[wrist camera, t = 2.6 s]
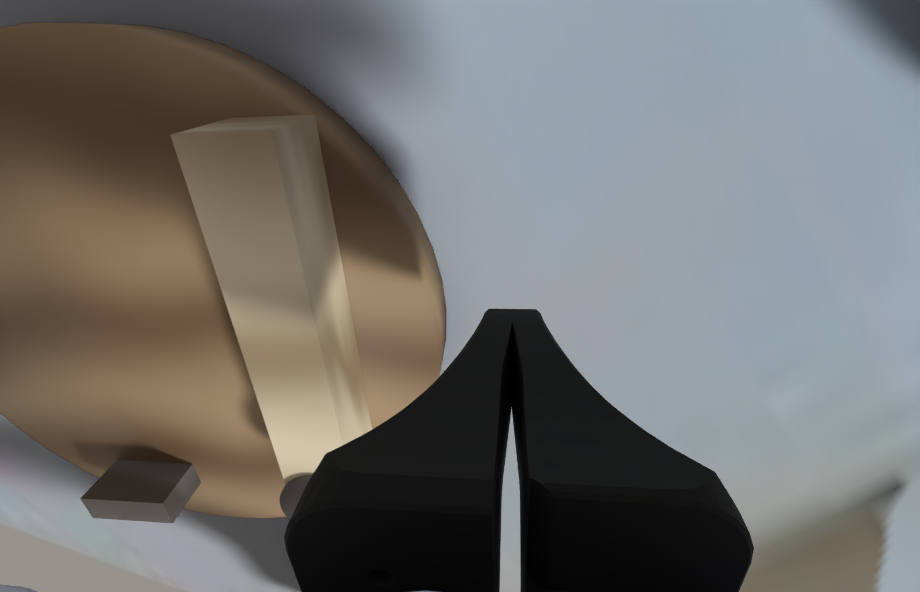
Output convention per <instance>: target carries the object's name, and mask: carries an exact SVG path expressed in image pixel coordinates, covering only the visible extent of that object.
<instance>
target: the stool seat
mask: <svg viewBox="0 0 920 592" xmlns="http://www.w3.org/2000/svg"><path fill="white" fill-rule="evenodd" d="M293 115H315V118H316V124H317V129H318V135H319V140H320V146H321V151H322V156H323V162H324V167H325V173H326V178H327V184H328V189H329V195H330V200H331V206H332V211H333V217H334V222H335V228H336V233H337V238H338V244H339V249H340V255H341V260H342V266H343V271H344V277H345V282H346V288H347V293H348V299H349V304H350V310H351V315H352V321H353V326H354V331H355V337H356V342H357V348H358V353H359V359H360V364H361V370H362V375H363V381H364V386H365V392H366V397H367V403H368V408H369V413H370V419H371V424H372V429H374V428H375V427H377V426H379V425H380V424H382V423H384V422H385V421H387V420H388V419H390V418H391V417H393V416H394V415H396V414H397V413H398V412H400V411H401V410H403V409H404V408H405V407H406V406H408V405H409V404H410V403H411V402H413V401H414V400H415V399H416V398H417V397H418V396H420V395H421V394H422V393H423V392H424V391H425V390H426V389H428V388H429V387H430V386H431V385H432V384H433V383H434V382H435V381H436V380H437V379H438V378H439V374H440V370H441V365H442V360H443V353H444V347H445V341H446V304H445V297H444V290H443V283H442V278H441V274H440V271H439V267H438V264H437V261H436V257H435V254H434V250H433V247H432V245H431V243H430V240H429V238H428V236H427V233H426V231H425V229H424V227H423V224H422V222H421V220H420V218H419V215H418V213H417V212H416V210H415V208H414V207H413V205H412V203H411V202H410V200H409V198H408V197H407V195H406V193H405V192H404V190H403V188H402V187H401V185H400V183H399V182H398V180H397V179H396V178H395V177H394V175H393V174H392V173H391V171H390V170H389V169H388V168H387V166H386V165H385V164H384V162H383V161H382V160H381V159H380V157H379V156H378V155H377V153H376V152H375V151H374V150H373V148H372V147H371V146H370V145H369V144H368V143H367V142H366V141H365V140H364V139H363V138H362V137H361V136H360V135H359V134H358V133H357V132H356V131H355V130H354V129H353V128H352V127H351V126H350V125H349V124H348V123H347V122H346V121H345V120H344V119H343V118H342V117H341V116H340V115H338V114H337V113H336V112H335V111H333V110H332V109H331V108H330V107H328V106H327V105H326V104H325V103H323V102H322V101H321V100H320V99H318V98H317V97H316V96H315V95H313V94H312V93H311V92H310V91H309V90H307V89H306V88H304V87H302V86H301V85H299V84H298V83H296V82H294V81H293V80H291V79H290V78H288V77H286V76H285V75H283V74H282V73H280V72H279V71H277V70H275V69H274V68H272V67H271V66H269V65H267V64H265V63H263V62H260V61H258V60H256V59H254V58H252V57H250V56H248V55H246V54H243V53H241V52H239V51H237V50H235V49H233V48H231V47H229V46H226V45H223V44H219V43H216V42H213V41H210V40H207V39H204V38H201V37H198V36H195V35H192V34H188V33H185V32H179V31H173V30H168V29H162V28H156V27H151V26H145V25H119V24H89V23H48V22H32V23H25V24H19V25H12V26H6V27H0V413H1V414H2V415H3V416H4V417H6V418H7V419H8V420H9V421H10V422H12V423H13V424H14V425H15V426H17V427H18V428H19V429H20V430H22V431H23V432H24V433H26V434H27V435H28V436H30V437H31V438H33V439H34V440H36V441H37V442H38V443H40V444H41V445H43V446H44V447H46V448H47V449H48V450H50V451H52V452H53V453H55V454H57V455H58V456H60V457H62V458H63V459H65V460H67V461H68V462H70V463H72V464H73V465H75V466H77V467H78V468H80V469H82V470H84V471H86V472H88V473H90V474H92V475H94V476H96V477H98V478H99V479H98V480H97V481H96V483H95V484H94V485H93V486H92V487H91V488H90V489H89V490H88V491H87V492H86V493H85V494H84V495H83V496H82V497H81V498H80V499H81V500H82V502H83V503H84V505H85V506H86V508H87V509H88V511H89V513H90V514H91V516H92V517H93V518H103V519H118V520H133V521H148V522H163V523H173V522H174V521H175V519H176V518H177V516H178V515H179V514H180V512H181V511H182V509H186V510H191V511H196V512H202V513H207V514H212V515H220V516H230V517H239V518H276V517H286V515H285V514H284V512H283V511H282V509H281V506H280V495H281V492H282V490H283V488H284V486H285V482H284V479H283V476H282V473H281V470H280V467H279V464H278V461H277V458H276V455H275V452H274V449H273V446H272V443H271V440H270V436H269V433H268V430H267V427H266V424H265V421H264V418H263V415H262V412H261V409H260V406H259V403H258V400H257V397H256V394H255V391H254V388H253V385H252V382H251V379H250V376H249V373H248V370H247V367H246V363H245V360H244V357H243V354H242V351H241V348H240V345H239V342H238V339H237V336H236V333H235V330H234V327H233V324H232V321H231V318H230V315H229V312H228V309H227V306H226V303H225V300H224V297H223V294H222V290H221V287H220V284H219V281H218V278H217V275H216V272H215V269H214V266H213V263H212V260H211V257H210V254H209V251H208V248H207V245H206V242H205V239H204V236H203V233H202V230H201V227H200V224H199V221H198V217H197V214H196V211H195V208H194V205H193V202H192V199H191V196H190V193H189V190H188V187H187V184H186V181H185V178H184V175H183V172H182V169H181V166H180V163H179V160H178V157H177V154H176V151H175V148H174V144H173V141H172V138H171V134H175V133H178V132H182V131H186V130H189V129H193V128H196V127H200V126H203V125H207V124H210V123H214V122H217V121H221V120H225V119H228V118H237V117H265V116H293Z"/></svg>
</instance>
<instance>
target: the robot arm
mask: <svg viewBox="0 0 920 592" xmlns="http://www.w3.org/2000/svg"><path fill="white" fill-rule="evenodd" d="M511 407H512V414H513V424H514V433H515V443H516V453H517V462H518V472H519V484H520V536H521V592H739V590H740V587H741V585H742V583H743V580H744V578H745V576H746V573H747V571H748V569H749V566H750V564H751V560H752V555H753V550H754V547H753V544H752V540H751V537H750V533H749V531H748V529H747V527H746V525H745V523H744V521H743V518H742V516H741V514H740V512H739V510H738V509H737V507H736V505H735V503H734V502H733V500H732V498H731V497H730V495H729V493H728V492H727V490H726V489H725V487H724V486H723V484H722V482H721V481H720V479H719V478H718V476H717V474H716V473H715V472H714V471H712V470H710V469H709V468H707V467H705V466H703V465H701V464H700V463H698V462H696V461H694V460H692V459H691V458H689V457H687V456H685V455H683V454H682V453H680V452H678V451H676V450H674V449H673V448H671V447H669V446H668V445H666V444H665V443H663V442H661V441H660V440H658V439H657V438H655V437H654V436H652V435H651V434H649V433H648V432H646V431H645V430H643V429H642V428H641V427H639V426H638V425H636V424H635V423H634V422H632V421H631V420H630V419H629V418H627V417H626V416H625V415H623V414H622V413H621V412H620V411H618V410H617V409H616V408H615V407H613V406H612V405H611V404H610V403H609V402H608V401H607V400H605V399H604V398H603V397H602V396H601V395H600V394H599V393H598V392H597V391H596V390H595V389H594V388H593V387H592V386H591V385H590V384H589V383H588V382H587V380H586V379H585V378H584V377H583V376H582V375H581V374H580V373H579V371H578V370H577V369H576V368H575V367H574V365H573V364H572V363H571V362H570V360H569V359H568V358H567V356H566V355H565V354H564V352H563V351H562V349H561V348H560V347H559V345H558V344H557V342H556V341H555V339H554V338H553V336H552V335H551V333H550V331H549V330H548V328H547V326H546V324H545V322H544V320H543V318H542V316H541V314H540V313H539V312H538V311H537V310H536V309H488V310H487V311H486V312H485V314H484V316H483V318H482V320H481V322H480V324H479V326H478V327H477V329H476V330H475V332H474V334H473V335H472V337H471V338H470V340H469V341H468V342H467V344H466V345H465V347H464V348H463V350H462V351H461V352H460V353H459V355H458V356H457V357H456V358H455V359H454V361H453V362H452V363H451V364H450V366H449V367H448V368H447V369H446V370H445V371H444V372H443V374H442V375H441V376H440V377H439V378H438V379H437V380H436V381H435V382H434V383H433V384H432V385H431V386H430V387H429V388H428V389H426V390H425V391H424V392H423V393H422V394H421V395H420V396H418V397H417V398H416V399H415V400H414V401H413V402H411V403H410V404H409V405H408V406H406V407H405V408H404V409H403V410H401V411H400V412H398V413H397V414H396V415H394V416H393V417H391V418H390V419H388V420H387V421H385V422H384V423H382V424H380V425H379V426H377V427H375V428H374V429H372V430H370V431H369V432H367V433H365V434H363V435H362V436H360V437H358V438H356V439H354V440H352V441H350V442H348V443H346V444H344V445H342V446H340V447H338V448H336V449H334V450H332V451H330V452H328V453H326V454H325V455H324V457H323V459H322V460H321V462H320V464H319V465H318V467H317V469H316V470H315V472H314V473H313V475H312V476H311V478H310V480H309V482H308V483H307V485H306V487H305V489H304V491H303V493H302V495H301V497H300V500H299V502H298V504H297V506H296V508H295V510H294V513H293V515H292V517H291V519H290V521H289V523H288V526H287V530H286V533H285V537H284V539H285V545H286V551H287V553H288V556H289V559H290V562H291V564H292V567H293V570H294V572H295V575H296V578H297V580H298V583H299V586H300V589H301V591H302V592H499V586H500V541H501V499H502V483H503V473H504V465H505V457H506V448H507V440H508V432H509V423H510V415H511ZM0 592H36V591H34V590H32V589H29V588H25V587H20V586H9V585H0Z"/></svg>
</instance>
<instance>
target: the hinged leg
mask: <svg viewBox="0 0 920 592" xmlns="http://www.w3.org/2000/svg"><path fill="white" fill-rule="evenodd" d="M171 138H172V141H173V144H174V148H175V151H176V154H177V157H178V160H179V163H180V166H181V169H182V172H183V175H184V178H185V181H186V184H187V187H188V190H189V193H190V196H191V199H192V202H193V205H194V208H195V211H196V214H197V217H198V221H199V224H200V227H201V230H202V233H203V236H204V239H205V242H206V245H207V248H208V251H209V254H210V257H211V260H212V263H213V266H214V269H215V272H216V275H217V278H218V281H219V284H220V287H221V290H222V294H223V297H224V300H225V303H226V306H227V309H228V312H229V315H230V318H231V321H232V324H233V327H234V330H235V333H236V336H237V339H238V342H239V345H240V348H241V351H242V354H243V357H244V360H245V363H246V367H247V370H248V373H249V376H250V379H251V382H252V385H253V388H254V391H255V394H256V397H257V400H258V403H259V406H260V409H261V412H262V415H263V418H264V421H265V424H266V427H267V430H268V433H269V436H270V440H271V443H272V446H273V449H274V452H275V455H276V458H277V461H278V464H279V467H280V470H281V473H282V476H283V479H284V482H285V486H284V488H283V490H282V492H281V495H280V506H281V509H282V511H283V512H284V514H285V515H286V517H287V518H288V519H289V520H290V519H291V517H292V515H293V513H294V510H295V508H296V506H297V504H298V502H299V500H300V497H301V495H302V493H303V491H304V489H305V487H306V485H307V483H308V482H309V480H310V478H311V476H312V475H313V473H314V472H315V470H316V469H317V467H318V465H319V464H320V462H321V460H322V459H323V457H324V455H325V454H326V453H328V452H330V451H332V450H334V449H336V448H338V447H340V446H342V445H344V444H346V443H348V442H350V441H352V440H354V439H356V438H358V437H360V436H362V435H363V434H365V433H367V432H369V431H370V430H372V424H371V419H370V413H369V408H368V403H367V397H366V392H365V386H364V381H363V375H362V370H361V364H360V359H359V353H358V348H357V342H356V337H355V331H354V326H353V321H352V315H351V310H350V304H349V299H348V293H347V288H346V282H345V277H344V271H343V266H342V260H341V255H340V249H339V244H338V238H337V233H336V228H335V222H334V217H333V211H332V206H331V200H330V195H329V189H328V184H327V178H326V173H325V167H324V162H323V156H322V151H321V146H320V140H319V135H318V129H317V124H316V118H315V115H293V116H265V117H237V118H228V119H225V120H221V121H217V122H214V123H210V124H207V125H203V126H200V127H196V128H193V129H189V130H186V131H182V132H178V133H175V134H171Z"/></svg>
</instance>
